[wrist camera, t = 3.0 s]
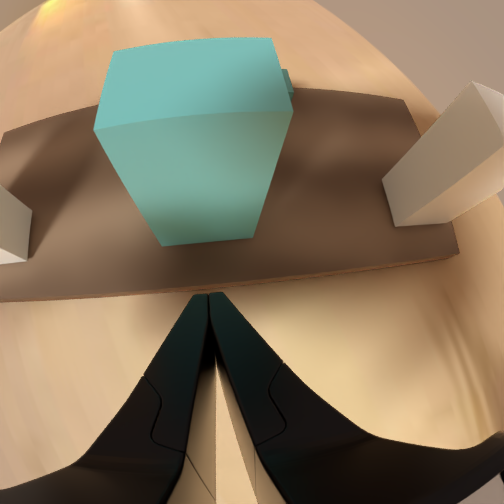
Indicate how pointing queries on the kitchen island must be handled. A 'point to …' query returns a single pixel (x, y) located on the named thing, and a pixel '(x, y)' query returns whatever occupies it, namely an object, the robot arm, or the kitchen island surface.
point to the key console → (218, 252)
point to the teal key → (196, 133)
